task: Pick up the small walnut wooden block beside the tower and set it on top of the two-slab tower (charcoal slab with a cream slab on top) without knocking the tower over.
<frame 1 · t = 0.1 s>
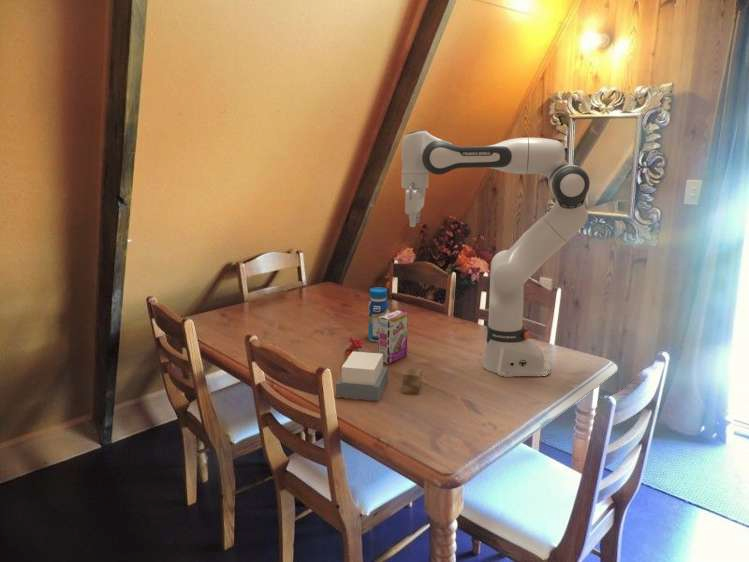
hand: (414, 224, 184), 48 cm above the table, tool pointing down, fingers open, 8 cm apart
bird rattle: (353, 367, 190), on the table
tower base: (363, 390, 174), on the table, touching tower top
candy bar box: (393, 359, 197), on the table
walnut block: (411, 389, 172), on the table
beverage bottle: (378, 339, 217), on the table
tower top: (363, 375, 172), point 4 cm above the table, touching tower base
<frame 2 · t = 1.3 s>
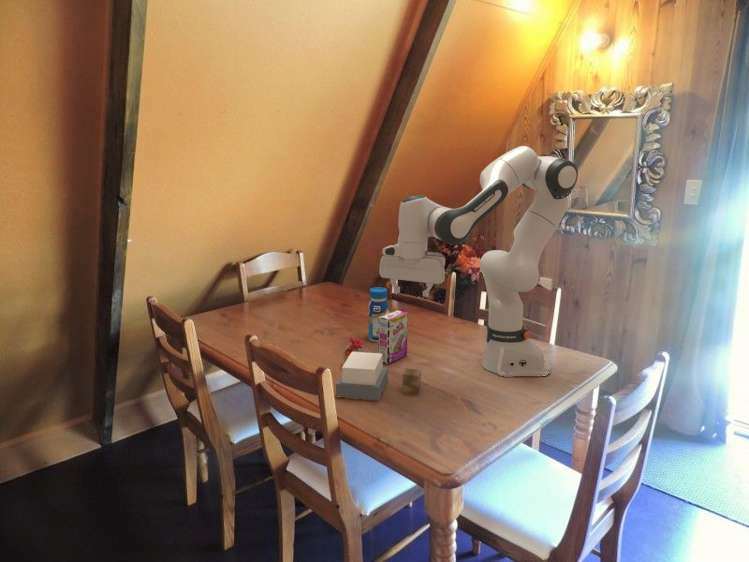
hand: (411, 294, 170), 29 cm above the table, tool pointing down, fingers open, 8 cm apart
nothing on the table moved.
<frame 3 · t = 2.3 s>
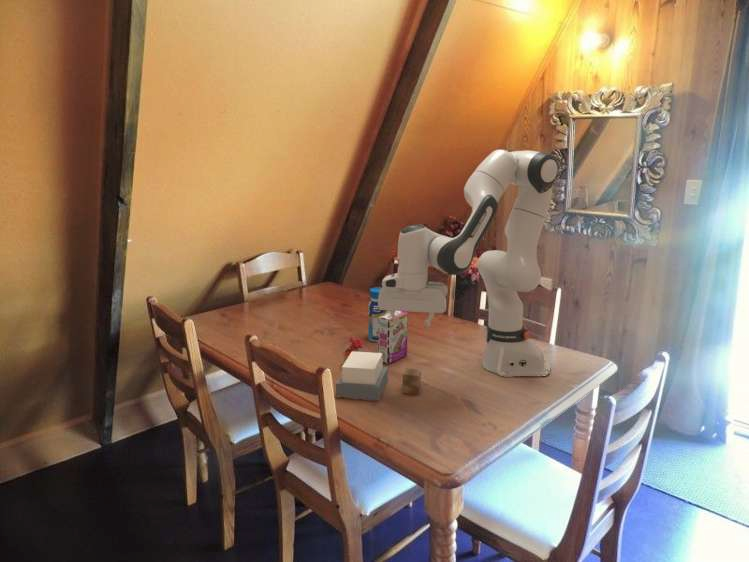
hand: (411, 325, 167), 21 cm above the table, tool pointing down, fingers open, 8 cm apart
nothing on the table moved.
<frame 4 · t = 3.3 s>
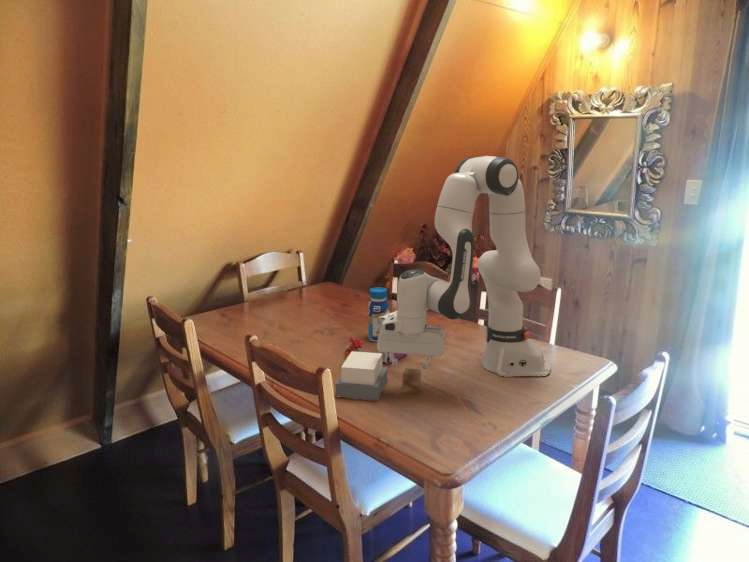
hand: (409, 366, 170), 8 cm above the table, tool pointing down, fingers open, 8 cm apart
nothing on the table moved.
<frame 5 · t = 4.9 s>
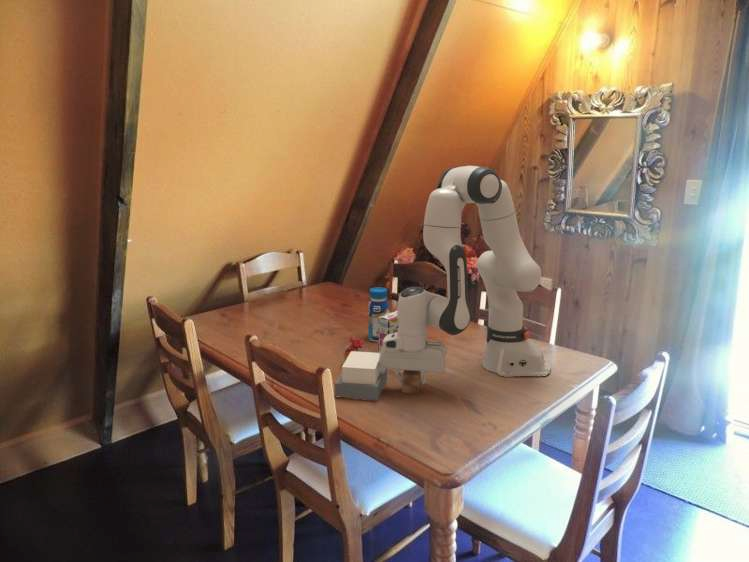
hand: (411, 382, 172), 2 cm above the table, tool pointing down, fingers closed on walnut block, 5 cm apart
walnut block: (411, 389, 172), on the table, touching gripper
everything else where it was.
when the fingers open (14 cm above the table, at t = 12.2 s): walnut block drops 2 cm, point 9 cm above the table.
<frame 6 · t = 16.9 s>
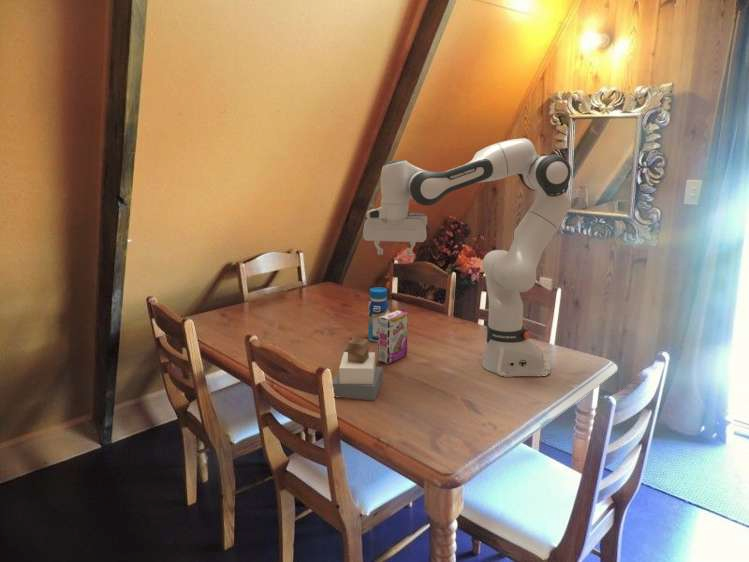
hand: (394, 254, 179), 39 cm above the table, tool pointing down, fingers open, 8 cm apart
tower base: (358, 389, 174), on the table, touching tower top
walnut block: (358, 359, 172), point 9 cm above the table
tower top: (358, 375, 173), point 4 cm above the table, touching tower base
everything else where it was.
at the end: walnut block 0.1 cm off-centre on the tower top, point 5.0 cm above the tower top's base; walnut block tilted 0°; tower top 0.0 cm off-centre on the tower base, point 5.0 cm above the tower base's base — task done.
